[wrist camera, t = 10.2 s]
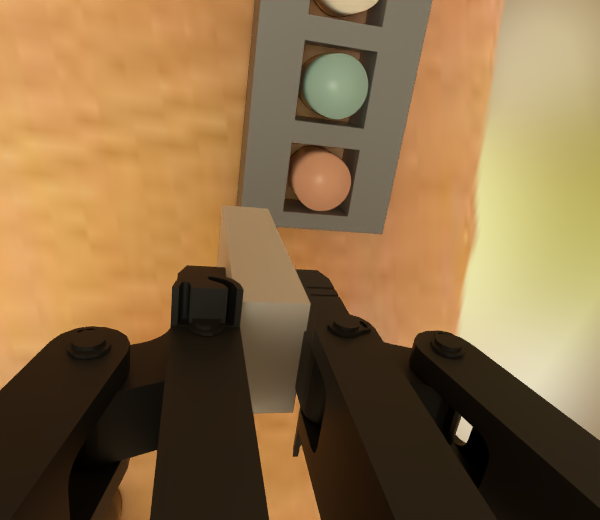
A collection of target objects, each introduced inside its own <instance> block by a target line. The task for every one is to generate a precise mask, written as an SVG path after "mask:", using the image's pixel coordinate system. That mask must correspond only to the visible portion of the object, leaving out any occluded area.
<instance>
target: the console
mask: <svg viewBox="0 0 600 520" xmlns="http://www.w3.org/2000/svg"><path fill="white" fill-rule="evenodd" d="M309 4H310V0H255V4H254V15H253V26H252V37H251V49H250V60H249V71H248V82H247V94H246V105H245V116H244V127H243V138H242V150H241V161H240V172H239V183H238V195H237V206H240V207H253V208H266V209H268V210H269V212H270V214H271V216H272V219H273V221H274V223H275V225H276V227H285V228H300V229H314V230H328V231H343V232H357V233H372V234H382V233H383V228H384V224H385V219H386V214H387V210H388V205H389V200H390V196H391V191H392V186H393V182H394V177H395V172H396V168H397V163H398V158H399V154H400V149H401V144H402V140H403V135H404V130H405V126H406V121H407V116H408V112H409V107H410V102H411V98H412V93H413V88H414V84H415V79H416V74H417V70H418V65H419V60H420V56H421V51H422V46H423V42H424V37H425V32H426V28H427V23H428V18H429V14H430V9H431V4H432V0H378V2H377V3H376V4H375V5H373V6H372V7H371V8H369V9H368V12H367V18H366V24H361V23H355V22H350V21H344V20H339V19H333V18H327V17H322V16H316V15H311V14H308V12H309ZM304 44H311V45H317V46H323V47H329V48H336V49H342V50H348V51H354V52H360V59H359V62H360V63H361V64H362V66H363V67H364V69H365V71H366V74H367V78H368V92H367V96H366V98H365V101H364V103H363V104H362V106H361V107H360V108H359V109H358V110H357V111H356V112H355V113H354V114H352V115H351V116H350V118H349V122H341V121H334V120H326V119H318V118H310V117H302V116H295V114H296V106H297V98H298V90H299V83H300V75H301V67H302V59H303V51H304ZM292 142H293V143H301V144H310V145H319V146H328V147H337V148H344V153H343V159H342V161H343V162H344V163H345V165H346V166H347V168H348V170H349V172H350V176H351V186H350V190H349V193H348V195H347V196H346V198H345V199H344V201H343V202H342V203H341V204H339V205H338V206H337V207H335V208H333V209H330V210H327V211H316V210H312V209H310V208H308V207H306V206H305V205H304V204H303V203H302V202H301V201H300V200H294V199H285V192H286V184H287V176H288V169H289V161H290V153H291V145H292Z"/></svg>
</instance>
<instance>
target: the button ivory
mask: <svg viewBox="0 0 600 520" xmlns="http://www.w3.org/2000/svg"><path fill="white" fill-rule="evenodd" d="M315 2H316V3H317V5H318V6H319V7H320V9H321V10H323V11H324V12H325V13H327V14H329V15H331V16H335V17H344V16H348V15H351V14H355V13H358V12H362V11H365V10H367V9H369V8H371V7H372V6H373V5H375V4H376V3H377V2H378V0H315Z"/></svg>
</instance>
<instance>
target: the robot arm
mask: <svg viewBox="0 0 600 520" xmlns="http://www.w3.org/2000/svg"><path fill="white" fill-rule="evenodd" d="M296 393H297V396H298V400H299V403H300V411H299V417H298V423H297V428H296V434H295V440H294V446H293V457H296V456H298V454H299V448H300V446H301V445H302V447H303V451H304V455H305V459H306V463H307V467H308V471H309V475H310V478H311V482H312V486H313V490H314V494H315V498H316V502H317V506H318V510H319V513H320V517H321V520H600V440H598V439H597V438H596V437H594V436H593V435H592V434H590V433H589V432H587V431H586V430H585V429H583V428H582V427H581V426H580V425H578V424H577V423H576V422H574V421H573V420H572V419H570V418H569V417H567V416H566V415H565V414H564V413H562V412H561V411H560V410H558V409H557V408H556V407H554V406H553V405H552V404H550V403H549V402H548V401H546V400H545V399H544V398H542V397H541V396H539V395H538V394H537V393H536V392H534V391H533V390H532V389H530V388H529V387H528V386H526V385H525V384H524V383H522V382H521V381H520V380H518V379H517V378H516V377H514V376H513V375H512V374H510V373H509V372H508V371H506V370H505V369H504V368H502V367H501V366H500V365H498V364H497V363H496V362H494V361H493V360H492V359H490V358H489V357H488V356H486V355H485V354H484V353H483V352H481V351H480V350H479V349H477V348H476V347H475V346H473V345H471V344H470V343H469V342H467V341H465V340H464V339H462V338H460V337H457V336H455V335H453V334H452V333H449V332H443V331H425V332H422V333H419V334H418V335H417V336H416V337H415V340H414V343H413V347H412V348H408V347H403V346H398V345H393V344H389V343H385V342H383V340H382V339H381V337H380V336H379V334H378V333H377V331H376V329H375V328H374V327H373V326H372V325H371V324H370V323H369V322H367V321H365V320H363V319H361V318H359V317H356V316H353V315H350V314H349V313H348V311H347V309H346V308H345V306H344V304H343V302H342V301H341V299H340V297H338V294H337V292H336V290H335V289H334V287H333V285H332V283H331V282H330V280H329V279H328V278H327V277H326V276H324V275H323V274H321V273H320V272H319V271H317V270H299V269H295V268H294V266H293V263H292V261H291V259H290V257H289V254H288V252H287V250H286V248H285V245H284V243H283V241H282V239H281V236H280V234H279V232H278V230H277V228H276V225H275V223H274V221H273V219H272V216H271V214H270V212H269V210H268V209H266V208H253V207H240V206H227V205H222V210H221V223H220V236H219V249H218V262H217V267H207V266H186V267H185V268H184V269H183V270H181V271H180V272H179V273H178V278H177V281H175V283H174V285H173V286H172V307H171V328H170V329H169V330H168V332H167V333H165V334H164V335H162V336H161V337H159V338H156V339H154V340H151V341H148V342H143V343H139V344H133V345H130V342H129V340H128V338H127V336H126V335H124V334H123V333H121V332H120V331H118V330H114V329H110V328H107V327H95V326H91V327H85V328H84V327H82V328H77V329H74V330H71V331H68V332H65V333H63V334H60V335H59V336H57V337H56V338H54V339H53V340H52V341H50V342H49V343H48V344H47V345H46V346H45V347H44V348H43V349H42V350H41V351H40V352H39V353H38V354H37V355H36V356H35V357H34V358H33V359H32V360H31V361H30V362H29V363H28V364H27V365H26V366H25V367H24V368H23V369H22V370H21V371H20V372H19V373H18V374H17V375H15V376H14V377H13V378H12V379H11V380H10V381H9V382H8V383H7V384H6V385H5V386H4V387H3V388H2V389H1V390H0V520H120V515H121V509H122V502H121V497H120V493H119V491H118V487H119V485H120V483H121V480H122V478H123V476H124V474H125V472H126V470H127V468H128V464H129V460H130V458H131V457H134V456H138V455H141V454H144V453H148V452H151V451H154V450H157V459H156V468H155V478H154V487H153V496H152V506H151V515H150V520H269V516H268V509H267V502H266V496H265V489H264V483H263V476H262V469H261V463H260V456H259V450H258V443H257V436H256V430H255V423H254V416H253V413H287V412H293V409H294V403H295V397H296ZM461 416H462V417H463V418H464V419H465V420H466V421H467V422H468V423H470V424H471V425H472V426H473V428H472V431H471V434H470V436H469V439H468V441H467V443H465V442H463V441H462V440H460V439H459V438H458V437H457V436H456V435H455V434H456V431H457V428H458V425H459V422H460V419H461Z"/></svg>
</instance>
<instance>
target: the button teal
mask: <svg viewBox="0 0 600 520" xmlns="http://www.w3.org/2000/svg"><path fill="white" fill-rule="evenodd" d="M298 92H299V95H300V98H301V100H302V101H303V103H304V104H305V105H306V106H307V107H308V108H309V109H311V110H313V111H314V112H317V113H319V114H321V115H323V116H325V117H328V118H331V119H343V118H346V117H349V116H351V115H352V114H354V113H355V112H356V111H357V110H358V109H359V108H360V107H361V106H362V104H363V103H364V101H365V98H366V96H367V92H368V78H367V74H366V71H365V69H364V67H363V66H362V64H361V63H360V62H359V61H358V60H357V59H355V58H354V57H352V56H350V55H348V54H343V53H334V54H320V55H317V56H314V57H313V58H311V59H310V60H308V61H307V62H306V63H305V65H304V66H303V67H302V69H301V75H300V83H299V90H298Z"/></svg>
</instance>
